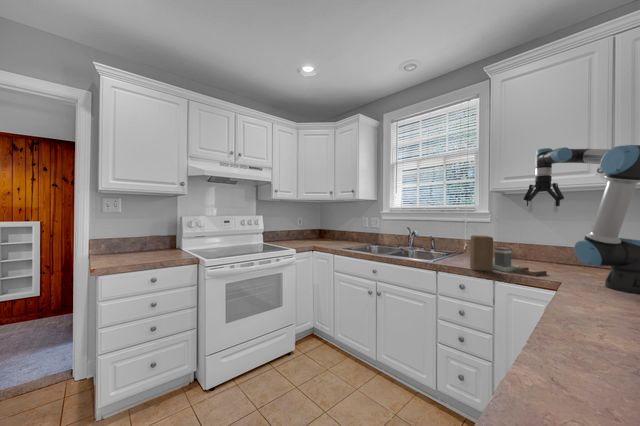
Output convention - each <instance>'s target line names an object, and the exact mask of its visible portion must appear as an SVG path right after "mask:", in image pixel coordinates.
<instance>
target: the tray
mask: <svg viewBox="0 0 640 426" xmlns="http://www.w3.org/2000/svg"><path fill="white" fill-rule="evenodd" d="M515 268H521V266H520V265H516V264H511V267H501V266H496V265H495V262H493V270H495V271H499V272H502V273H503V272H504V273H508V272H515Z"/></svg>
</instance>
